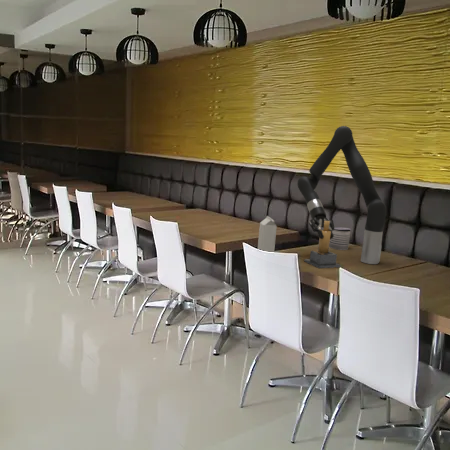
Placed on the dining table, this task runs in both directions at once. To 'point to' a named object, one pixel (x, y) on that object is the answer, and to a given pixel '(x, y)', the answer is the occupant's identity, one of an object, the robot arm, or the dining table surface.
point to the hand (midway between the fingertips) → (327, 237)
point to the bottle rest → (323, 260)
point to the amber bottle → (325, 239)
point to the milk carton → (267, 235)
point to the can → (340, 239)
